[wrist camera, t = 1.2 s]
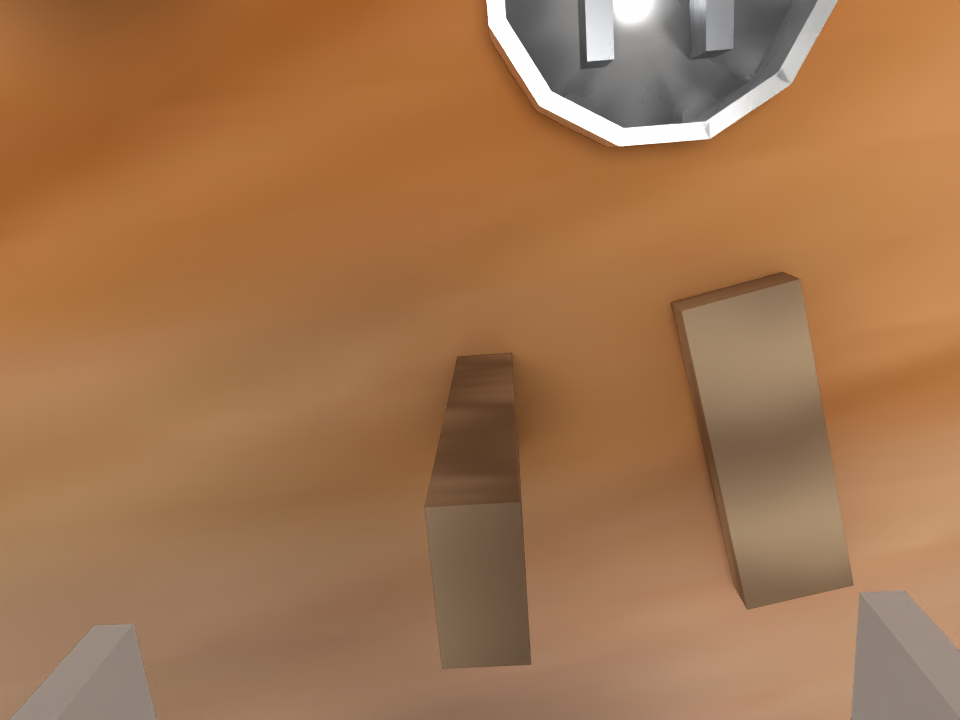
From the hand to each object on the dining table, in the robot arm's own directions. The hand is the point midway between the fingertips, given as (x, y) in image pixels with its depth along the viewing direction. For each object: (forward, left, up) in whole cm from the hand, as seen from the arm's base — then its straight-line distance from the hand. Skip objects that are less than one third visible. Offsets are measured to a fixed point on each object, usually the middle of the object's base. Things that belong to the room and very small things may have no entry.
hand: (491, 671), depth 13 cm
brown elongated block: (0, 0, -15) cm, 15 cm away
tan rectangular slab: (+10, -2, -15) cm, 18 cm away
